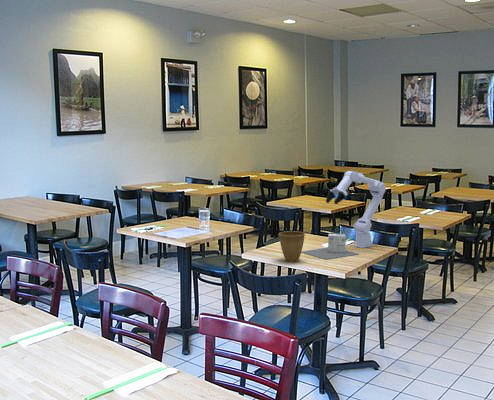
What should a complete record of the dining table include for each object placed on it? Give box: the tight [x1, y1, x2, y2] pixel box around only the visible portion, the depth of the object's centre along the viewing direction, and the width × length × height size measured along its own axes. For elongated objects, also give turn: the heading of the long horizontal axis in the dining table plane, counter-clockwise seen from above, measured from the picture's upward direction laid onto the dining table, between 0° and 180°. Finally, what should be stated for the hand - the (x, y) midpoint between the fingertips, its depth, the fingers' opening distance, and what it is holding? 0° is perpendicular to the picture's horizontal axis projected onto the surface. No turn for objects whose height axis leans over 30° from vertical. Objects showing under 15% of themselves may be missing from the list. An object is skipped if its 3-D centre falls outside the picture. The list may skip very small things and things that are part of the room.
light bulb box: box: [327, 233, 347, 253], centre depth 354 cm, size 11×7×11 cm, turn 84°
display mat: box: [301, 247, 360, 261], centre depth 352 cm, size 26×24×1 cm
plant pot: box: [278, 230, 306, 263], centre depth 332 cm, size 15×15×16 cm
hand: (330, 202), depth 353 cm, fingers open, 7 cm apart
